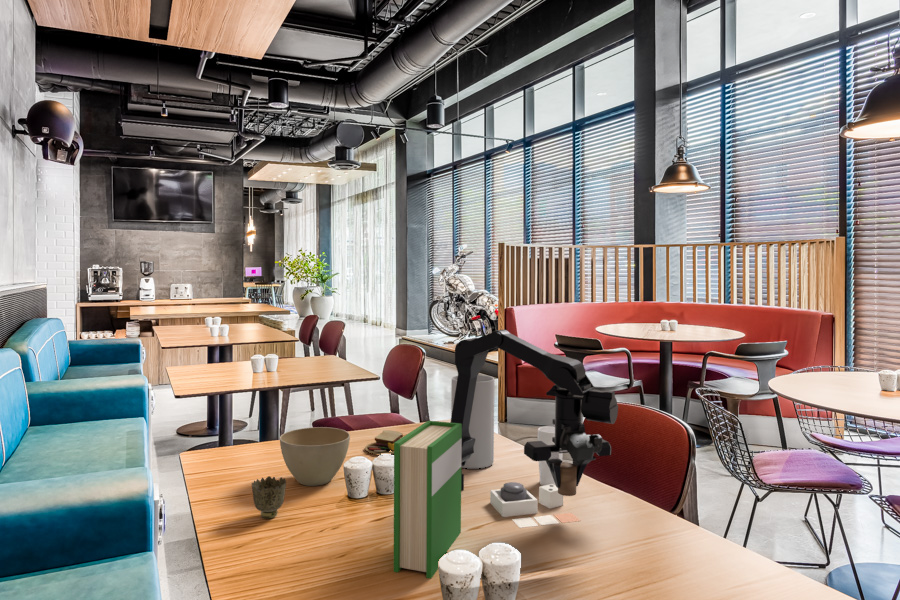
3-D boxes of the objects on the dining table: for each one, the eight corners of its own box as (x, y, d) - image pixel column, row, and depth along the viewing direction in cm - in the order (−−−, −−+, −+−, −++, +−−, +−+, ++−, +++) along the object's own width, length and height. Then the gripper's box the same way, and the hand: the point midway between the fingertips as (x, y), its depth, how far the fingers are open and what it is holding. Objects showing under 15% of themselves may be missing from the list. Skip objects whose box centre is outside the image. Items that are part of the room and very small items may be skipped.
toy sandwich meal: (356, 452, 180) (356, 437, 179) (384, 442, 191) (384, 428, 191) (388, 459, 173) (388, 443, 173) (414, 448, 184) (414, 433, 184)
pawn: (562, 496, 126) (563, 469, 126) (554, 490, 130) (555, 463, 129) (579, 495, 127) (580, 468, 127) (570, 488, 131) (571, 462, 130)
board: (513, 535, 121) (514, 517, 121) (488, 506, 137) (488, 490, 137) (590, 526, 126) (591, 508, 126) (558, 499, 142) (558, 483, 142)
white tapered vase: (562, 491, 147) (563, 433, 146) (536, 489, 148) (536, 431, 148) (563, 482, 153) (564, 426, 153) (537, 480, 155) (538, 425, 154)
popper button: (505, 513, 130) (506, 491, 130) (496, 503, 136) (496, 482, 136) (530, 510, 132) (530, 489, 132) (520, 500, 138) (520, 480, 137)
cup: (292, 512, 133) (292, 478, 132) (273, 525, 126) (272, 489, 125) (265, 508, 135) (265, 474, 135) (244, 520, 128) (244, 485, 128)
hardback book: (431, 578, 104) (432, 446, 103) (393, 571, 106) (394, 442, 105) (460, 537, 121) (461, 423, 120) (427, 532, 123) (428, 420, 122)
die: (549, 509, 134) (550, 491, 134) (538, 503, 137) (539, 486, 137) (563, 505, 136) (563, 488, 136) (551, 500, 139) (552, 483, 139)
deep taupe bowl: (299, 499, 141) (299, 449, 140) (268, 479, 154) (268, 434, 154) (362, 482, 153) (362, 436, 152) (328, 465, 166) (328, 423, 166)
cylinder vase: (501, 461, 171) (501, 377, 170) (480, 472, 161) (481, 383, 160) (464, 453, 178) (465, 373, 177) (442, 464, 167) (443, 379, 166)
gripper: (544, 429, 117) (543, 504, 118) (625, 423, 122) (624, 496, 123) (523, 416, 128) (522, 485, 129) (598, 411, 133) (597, 478, 134)
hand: (566, 486), depth 128 cm, fingers closed on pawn, 4 cm apart
